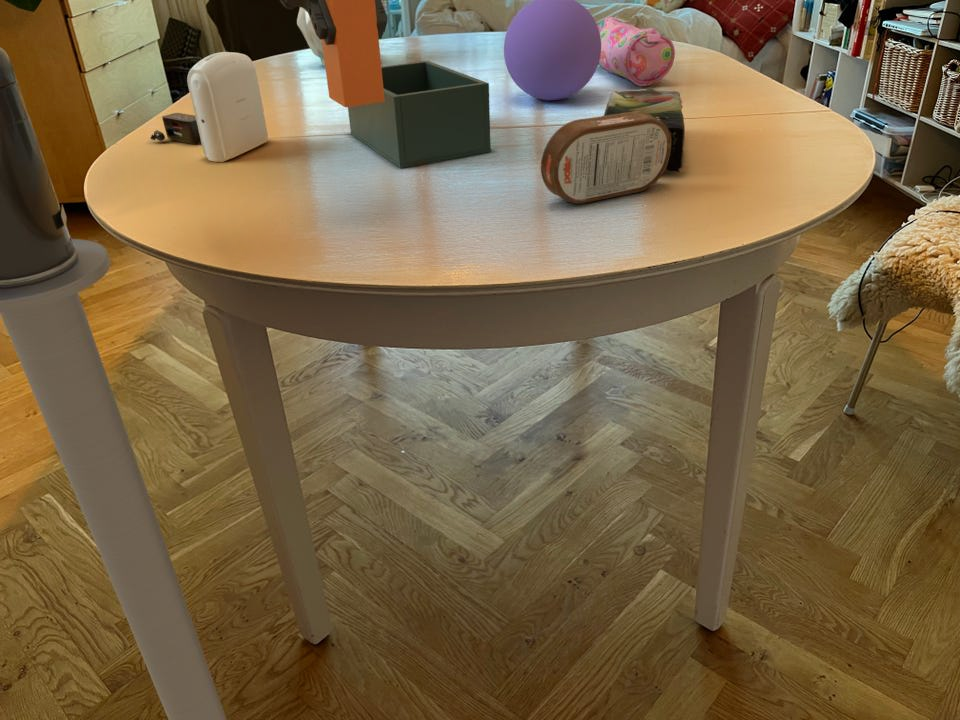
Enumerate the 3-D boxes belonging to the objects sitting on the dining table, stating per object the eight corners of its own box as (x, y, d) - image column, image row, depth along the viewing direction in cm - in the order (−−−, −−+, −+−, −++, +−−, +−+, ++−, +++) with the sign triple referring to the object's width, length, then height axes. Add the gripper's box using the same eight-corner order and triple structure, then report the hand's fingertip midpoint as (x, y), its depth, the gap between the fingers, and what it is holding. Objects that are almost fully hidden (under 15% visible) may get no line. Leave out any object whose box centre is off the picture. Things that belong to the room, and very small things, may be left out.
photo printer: (226, 163, 97) (205, 62, 91) (200, 161, 99) (176, 60, 92) (274, 142, 105) (257, 47, 99) (248, 139, 107) (230, 46, 100)
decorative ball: (573, 85, 129) (575, -13, 122) (615, 103, 117) (622, -4, 109) (491, 94, 125) (488, -6, 117) (526, 115, 113) (526, 5, 105)
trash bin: (400, 168, 93) (393, 96, 88) (350, 134, 107) (343, 71, 103) (490, 151, 98) (489, 83, 93) (432, 121, 112) (428, 60, 107)
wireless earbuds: (178, 134, 110) (173, 111, 109) (210, 140, 107) (205, 117, 105) (151, 142, 107) (145, 119, 105) (183, 149, 104) (177, 125, 102)
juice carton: (604, 128, 105) (607, 82, 101) (677, 130, 103) (682, 83, 100) (595, 176, 88) (598, 123, 85) (682, 179, 86) (689, 125, 83)
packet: (345, 107, 71) (330, -11, 66) (329, 97, 75) (314, -15, 70) (385, 101, 73) (373, -14, 67) (367, 92, 76) (355, -18, 71)
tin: (654, 180, 86) (661, 104, 81) (672, 188, 83) (680, 110, 79) (538, 204, 81) (539, 123, 76) (553, 213, 78) (554, 131, 74)
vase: (329, 76, 143) (314, -34, 133) (289, 65, 154) (273, -37, 144) (400, 63, 152) (391, -41, 142) (357, 54, 163) (346, -44, 153)
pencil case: (583, 67, 142) (584, 14, 138) (629, 63, 144) (632, 11, 139) (621, 91, 124) (625, 31, 120) (674, 86, 126) (680, 28, 121)
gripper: (363, -87, 78) (418, 54, 75) (223, -81, 73) (276, 71, 70) (375, -153, 71) (436, 0, 68) (222, -151, 66) (280, 14, 63)
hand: (355, 35), depth 69 cm, fingers closed on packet, 4 cm apart
